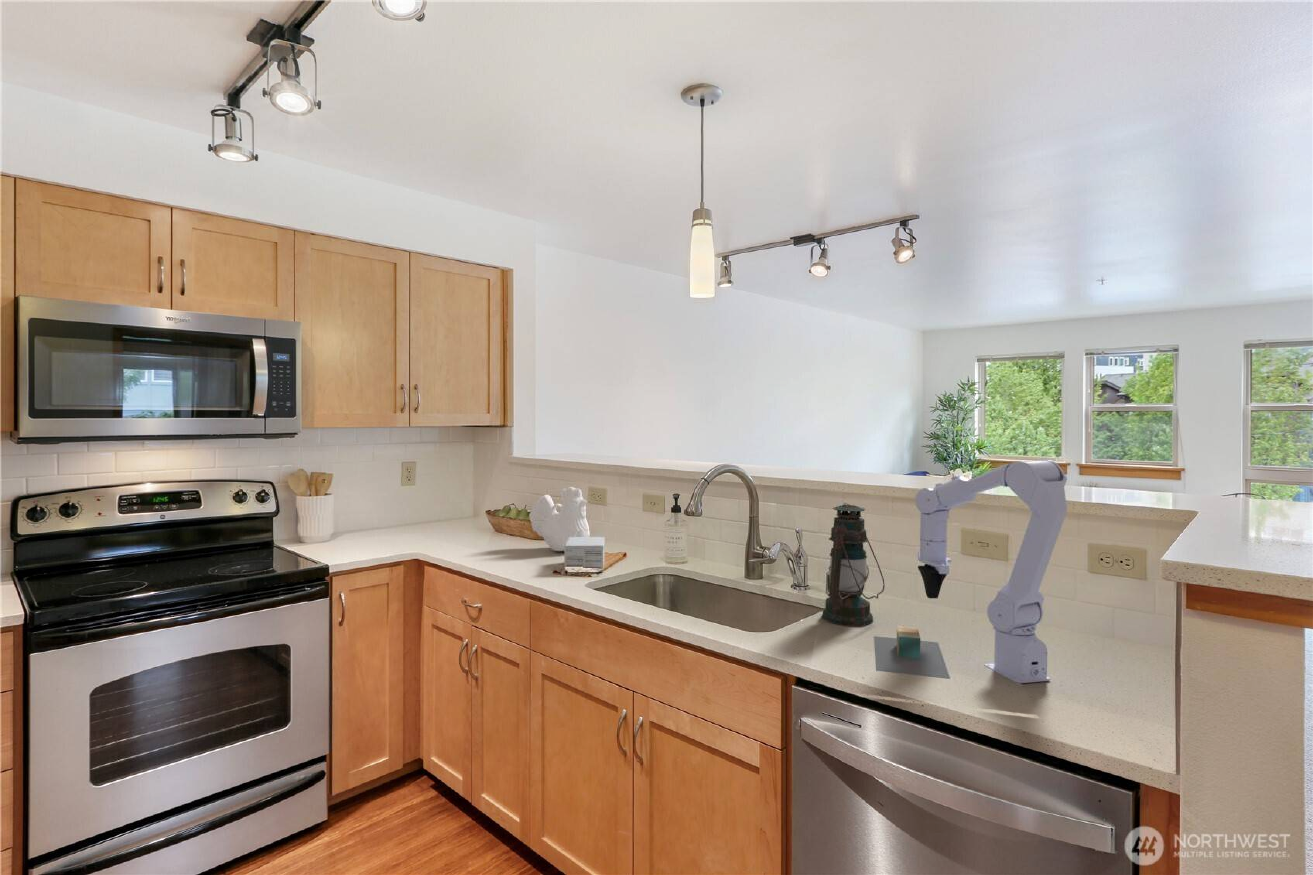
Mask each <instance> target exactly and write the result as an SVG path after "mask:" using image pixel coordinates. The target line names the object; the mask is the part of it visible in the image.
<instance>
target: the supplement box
mask: <svg viewBox="0 0 1313 875" xmlns="http://www.w3.org/2000/svg"><path fill="white" fill-rule="evenodd" d="M605 539H606V538H605V536H590V537H568V540H567V543H566V545H565V551H564V556H563V557H564V561H563V562H564V564H563V566H564V567H583V568H598V569H602V570H603V571H604V569H603V567H605V557H606V556H605V552H606V548H605V547H606V542H605V541H606V540H605ZM564 567H563V568H564Z"/></svg>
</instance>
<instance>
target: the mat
mask: <svg viewBox="0 0 1313 875" xmlns="http://www.w3.org/2000/svg"><path fill="white" fill-rule="evenodd" d="M873 639H874V656H875V658H874V659H875V671H876V672H884V673H885V672H888V673H894V674H895V673H897V674H904V675H913V676H922V677H930V678H940V679H947V680H948V679H951V678H950V674H949V671H948V668H947V666H946V662H945V660H944V657H943V656H944V655H943V654H942V650H941V647H940V644H939V642H937V641H930V640H929V641H927V640H926V641H925V640H920V659H918V658H909V657H899V656H898V651H897V637H896V638H895V637H885V636H878V635H877V636H876V635H875V636H873Z"/></svg>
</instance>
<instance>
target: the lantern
mask: <svg viewBox="0 0 1313 875" xmlns="http://www.w3.org/2000/svg"><path fill="white" fill-rule="evenodd" d="M832 510H835V511H836V517H833V527H831V531H830V532H831V533H830V537H829V538H828V540H829V541H831V542H832V548H831V549H830V553H829V556H830V562H829V567H828V572H829V573H828V575H829V577H828V578H829V592H828V594H827V596H828V597H827V598H825V604H824V605H825V607H824V609H823V610H822V615H821V617H822V619H823V620H824V621H827V622H829V623H832V624H836V625H839V626H845V627H862V626H867V625H870V624H872V623H873V622H874V619H873V618H874V616H873V614H872V613H871V602H870V601H868V600H871V599H874V598H876V600H877V599H879V595H881V594H882V593H883V592H884V591H885V588H886V585H885V579H884V576H883V572H882V569H881V568H880V565H879V562H878V559H877V557H876V555H875V552H874V550H873V548H872V545H871V543H870V541H869V538H868V537H867V536H868V535H867V530H866V529H865V519H864V518H862V515H861V512H865V510H866V508H863V507H859V506H857V505H854V504H852V505H851V504H849V503H847V502H844V504H843V505H837V506H834V507H832ZM865 543H868V546H869V549H870V550H871V553H872V555H873V557H874V560H875V562H876V566H877V568H878V570H879V573H880V576H881V578H882V584H883V585H882V590H881V591H880V592H878V593H877V594H876V595H873V596H869V597H868V596H866V595H865V594H864V593H863V592H864V589H865V585H866V584H865V583H867V580H868V579H869V578H868V577H869V574H870V571H869V570H870V568H869V566H868V564H867V558H868V556H867V551H866V550H865V549H864V544H865ZM862 596H863V597H864V598H863V597H862Z"/></svg>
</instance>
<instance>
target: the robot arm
mask: <svg viewBox="0 0 1313 875" xmlns="http://www.w3.org/2000/svg"><path fill="white" fill-rule="evenodd" d="M950 479H951V480H949V481H947V482H944V483H942V482H941V483H936V484H935V485H934V486H935V487H934V488H933V487H932V488H929V487H922V488H921V489H920V490H919V491H917V493H916V494H915V499H914V501H915V506H916V509H917V510H918V511H919V512H920V527H919V530H920V531H919V534H920V535H919V551H918V552H917V561H919V562H920V563H922V564H924V565H918V566H917V570H918V571H919V572H920V575H921V577H922V581H923V585H924V586H923V587H924V590H925V591H924V592H925V595H926V598H928V599H939V595H940V592H941V588H942V585H943V582H944V581H945V578H946V577H947V575H950V565H949V564H948V563H952V560H953V559H951V558H950V557H947V547H948V546H947V542H948V540H947V539H948V538H947V537H948V519H949V518H950V512H951V510H952V509H953V508H956V507H960V506H962V505H965V504H967V503H970V502H973V501H974V500H975V499H976V497H977V494H979V493H982V492H986V491H989V490H992V489H995V488H996V489H997V488H999V487H1004V488H1009V489H1010V490H1011V491H1012V492H1013V493H1014V494H1015V495H1016V496H1017V497H1018V498H1019V499H1020V500H1021V501H1022V502H1023V503H1024V504H1025V505H1026V506H1027V507H1028V508H1029V510H1030V511H1031V515H1030V518H1029V521H1028V524H1027V527H1026V531H1025V532H1024V533H1025V534H1024V536H1023V539H1022V542H1021V545H1020V548H1019V551H1018V553H1017V556H1016V559H1015V561H1014V565H1013V568H1012V571H1011V573H1010V577H1009V579H1008V582H1006V583H1005V585H1004V586H1002V588H1000V589H999V590H998V591H997V593H996V595H995V596H996V597H995V598H994V599H993V600H992V601H990V602H989V604H988V606H987V611H986V615H987V618H988V620H989V622H990V624H992V626H993V628H992V629H993V630H994V652H993V653H994V654H993V655H994V657H993V658H994V659H993V660H994V661H993V663H985V664H984V665H983V666H985V667H986V668H988V669H991V670H993V671H994V672H996V673H998V674H999V675H1002V676H1004V677H1006V678H1008V679H1010V680H1011V681H1013V682H1016V683H1020V684H1026V683H1027V684H1029V683H1037V682H1040V683H1041V682H1047V681H1051V678H1050V677H1049V676H1048V648H1047V645H1046V643H1045V642H1044V641H1042V640H1041V639H1039V638H1038V636H1037V635H1036V633H1035V632H1036V630H1037V625H1038V624H1039V623H1040V622H1042V619H1043V616H1044V609H1043V603H1044V599H1045V597H1044V595H1043V594H1042V593H1041V592H1040V587H1041V584H1042V582H1043V579H1044V576H1045V575H1046V574H1045V573H1046V571H1047V568H1048V565H1049V563H1050V560H1051V557H1052V554H1053V552H1054V549H1055V546H1056V543H1057V541H1058V537H1059V535H1060V532H1061V530H1062V527H1063V523H1064V521H1065V518H1066V515H1067V511H1068V507H1067V500H1066V490H1065V485H1066V484H1067V481H1068V477H1067V475H1066V474H1065V472H1064V471H1063V469H1062V467H1060V465H1059V464H1058V463H1056V462H1055V461H1053V460H1050V459H1043V460H1038V461H1037V460H1036V461H1035V460H1034V461H1023V460H1021V461H1020V460H1018V461H1014V462H1012V463H1007V464H1003V465H1001V466H998V467H996V468H992V469H991V470H989V471H987V472H984V473H982V474H979V475H977V476H974V477H973V478H971V479H970V478H968V477H966V476H960V475H954V476H952V477H951V478H950Z"/></svg>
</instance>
